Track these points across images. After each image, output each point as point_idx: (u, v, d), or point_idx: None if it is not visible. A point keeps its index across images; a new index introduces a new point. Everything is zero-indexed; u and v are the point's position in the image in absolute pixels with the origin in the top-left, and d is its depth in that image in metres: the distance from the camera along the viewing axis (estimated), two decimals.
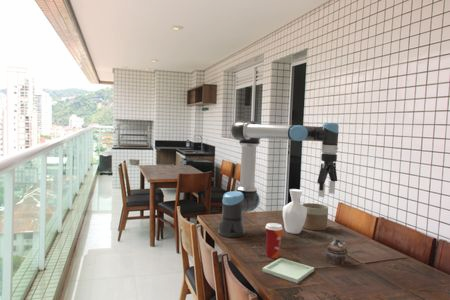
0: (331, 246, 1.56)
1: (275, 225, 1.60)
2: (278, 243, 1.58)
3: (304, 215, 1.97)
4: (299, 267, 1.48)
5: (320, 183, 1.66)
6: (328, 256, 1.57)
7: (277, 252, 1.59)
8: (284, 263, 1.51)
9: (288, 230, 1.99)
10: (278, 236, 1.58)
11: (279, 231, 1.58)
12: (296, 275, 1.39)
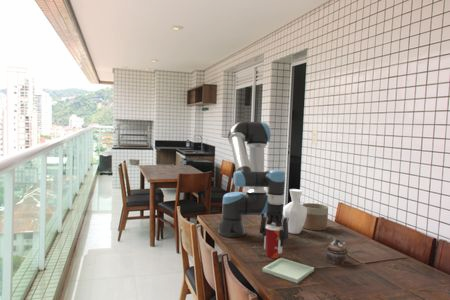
0: (331, 246, 1.56)
1: (275, 225, 1.60)
2: None
3: (304, 215, 1.97)
4: (299, 267, 1.48)
5: None
6: (328, 256, 1.57)
7: (277, 252, 1.59)
8: (284, 263, 1.51)
9: (288, 230, 1.99)
10: (278, 236, 1.58)
11: (279, 231, 1.58)
12: (296, 275, 1.39)
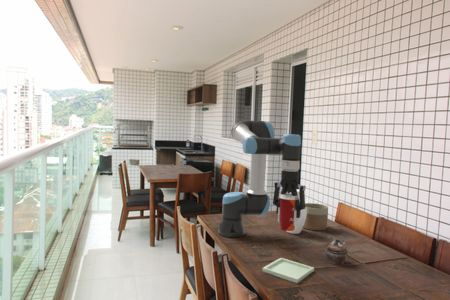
0: (331, 246, 1.56)
1: (290, 195, 1.45)
2: None
3: (304, 215, 1.97)
4: (299, 267, 1.48)
5: (277, 205, 1.50)
6: (328, 256, 1.57)
7: (293, 224, 1.44)
8: (284, 263, 1.51)
9: None
10: (294, 206, 1.43)
11: None
12: (296, 275, 1.39)
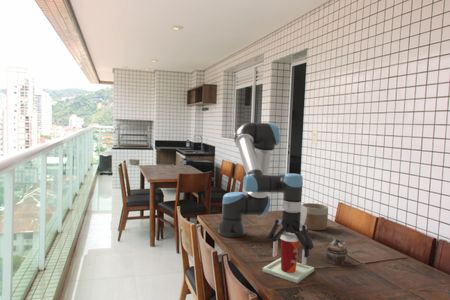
0: (331, 246, 1.56)
1: (291, 236, 1.43)
2: (295, 256, 1.41)
3: (304, 215, 1.97)
4: (299, 267, 1.48)
5: None
6: (328, 256, 1.57)
7: (294, 266, 1.42)
8: None
9: None
10: (295, 248, 1.41)
11: (296, 242, 1.41)
12: (296, 275, 1.39)
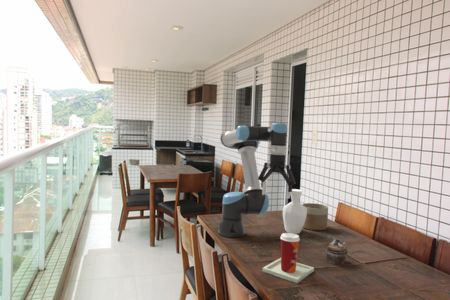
0: (331, 246, 1.56)
1: (291, 236, 1.43)
2: (295, 256, 1.41)
3: (304, 215, 1.97)
4: (299, 267, 1.48)
5: None
6: (328, 256, 1.57)
7: (294, 266, 1.42)
8: None
9: (288, 230, 1.99)
10: (295, 248, 1.41)
11: (296, 242, 1.41)
12: (296, 275, 1.39)
